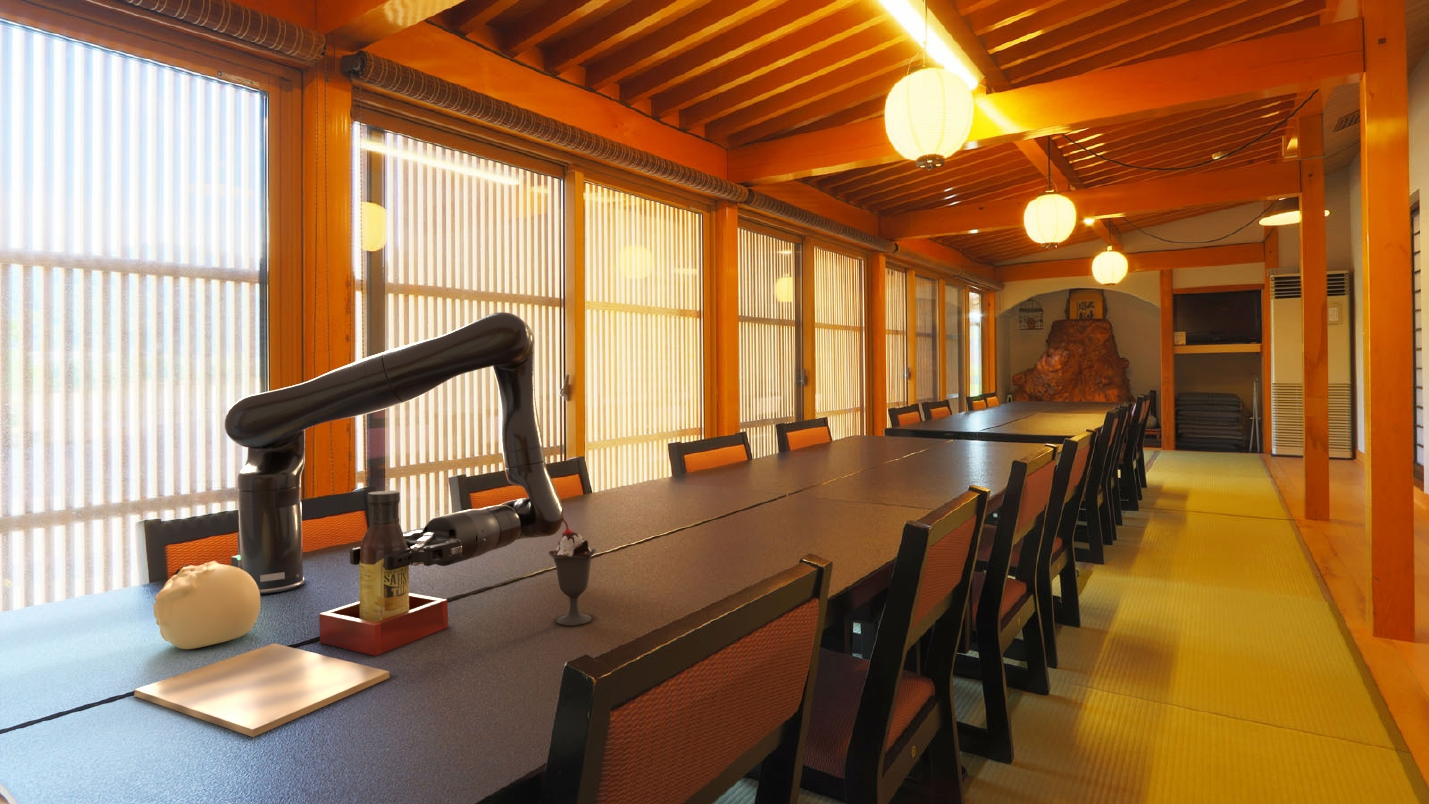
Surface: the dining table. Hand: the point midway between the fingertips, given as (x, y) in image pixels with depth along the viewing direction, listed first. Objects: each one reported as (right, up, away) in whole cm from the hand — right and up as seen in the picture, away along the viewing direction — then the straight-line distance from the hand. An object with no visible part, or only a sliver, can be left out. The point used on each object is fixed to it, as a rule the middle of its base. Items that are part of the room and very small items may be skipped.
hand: (368, 560), depth 99 cm
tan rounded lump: (-22, -11, +1) cm, 25 cm away
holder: (+1, -11, +2) cm, 11 cm away
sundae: (+26, -11, +8) cm, 29 cm away
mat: (-5, -12, -14) cm, 19 cm away
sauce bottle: (+1, -11, +2) cm, 11 cm away
